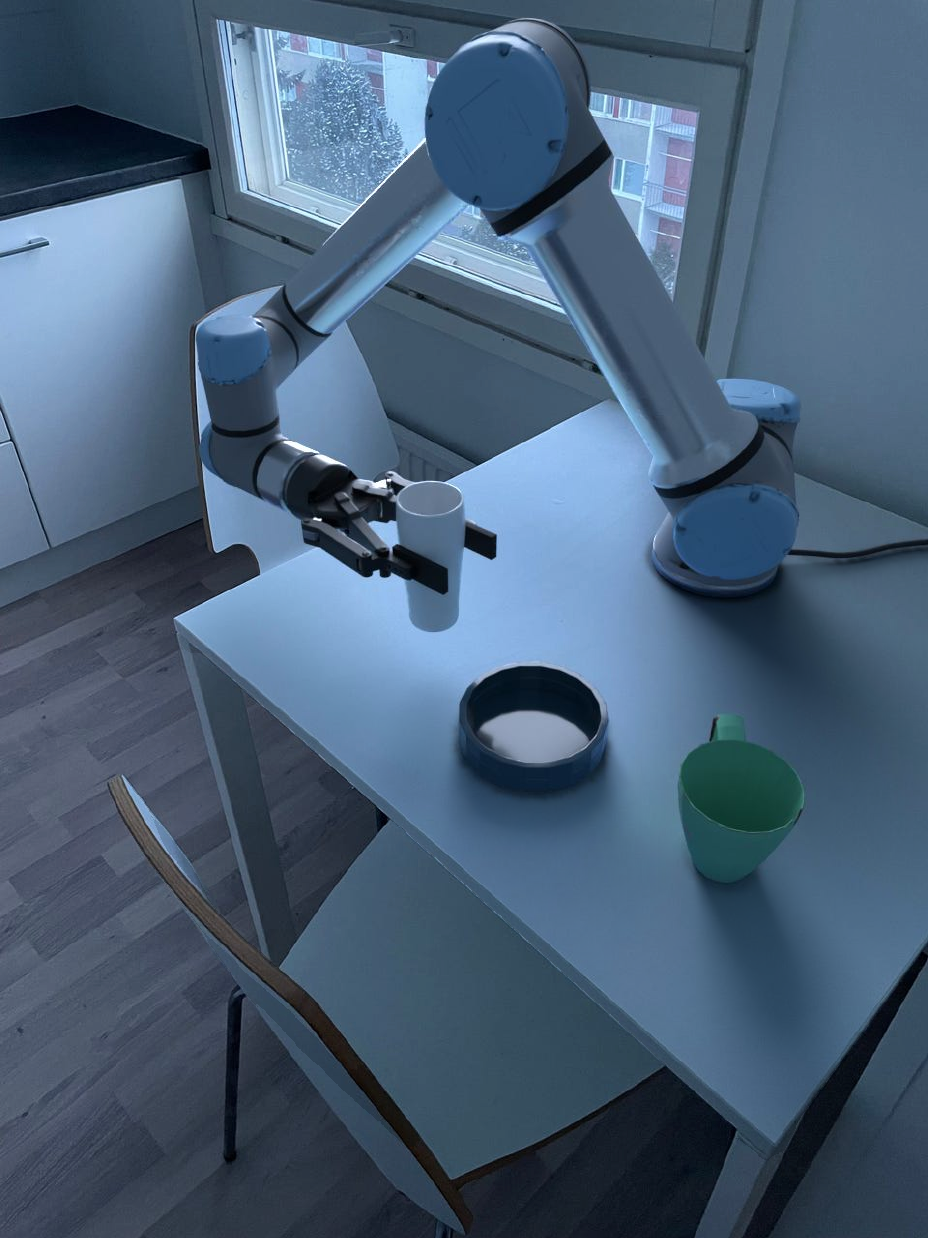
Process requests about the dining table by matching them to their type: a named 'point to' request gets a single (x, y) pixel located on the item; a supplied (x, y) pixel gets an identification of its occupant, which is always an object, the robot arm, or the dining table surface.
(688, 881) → the dining table surface
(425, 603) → the drinking glass
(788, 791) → the mug
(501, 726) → the round dark tray
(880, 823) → the dining table surface
